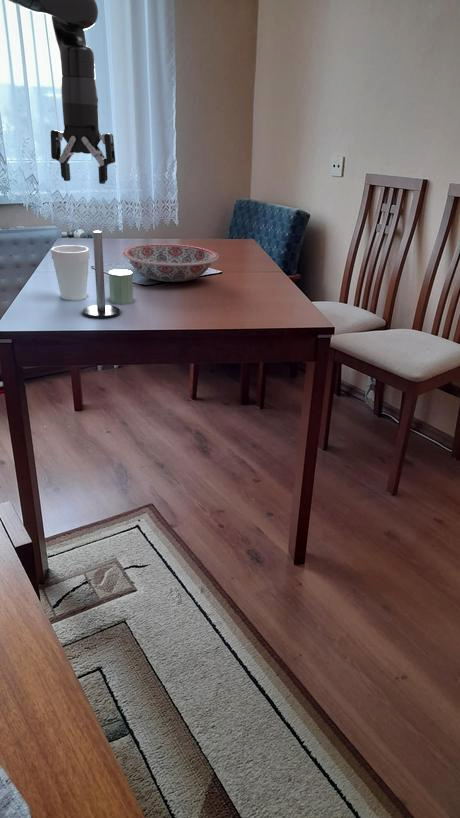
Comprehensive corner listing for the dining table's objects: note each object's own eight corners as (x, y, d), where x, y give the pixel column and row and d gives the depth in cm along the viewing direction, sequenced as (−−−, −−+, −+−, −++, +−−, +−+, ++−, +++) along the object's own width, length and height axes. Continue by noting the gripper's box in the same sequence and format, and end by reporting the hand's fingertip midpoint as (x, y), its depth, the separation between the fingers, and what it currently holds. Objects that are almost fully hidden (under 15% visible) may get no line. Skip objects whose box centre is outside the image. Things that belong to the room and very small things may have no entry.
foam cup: (79, 305, 143) (75, 254, 137) (48, 300, 146) (43, 250, 140) (98, 296, 151) (95, 247, 145) (69, 291, 154) (65, 243, 148)
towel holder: (112, 322, 133) (108, 236, 124) (77, 318, 134) (70, 233, 125) (125, 311, 141) (122, 230, 132) (91, 307, 142) (86, 227, 133)
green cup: (129, 306, 145) (128, 275, 141) (106, 304, 146) (105, 273, 142) (136, 300, 150) (135, 270, 146) (114, 297, 151) (113, 268, 147)
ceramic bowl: (227, 291, 163) (228, 264, 159) (127, 292, 156) (126, 264, 152) (206, 268, 188) (207, 244, 184) (119, 268, 181) (118, 243, 177)
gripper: (41, 99, 118) (48, 181, 125) (105, 103, 116) (108, 185, 123) (56, 101, 124) (62, 178, 132) (117, 104, 123) (119, 183, 130)
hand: (84, 182), depth 128 cm, fingers open, 8 cm apart
